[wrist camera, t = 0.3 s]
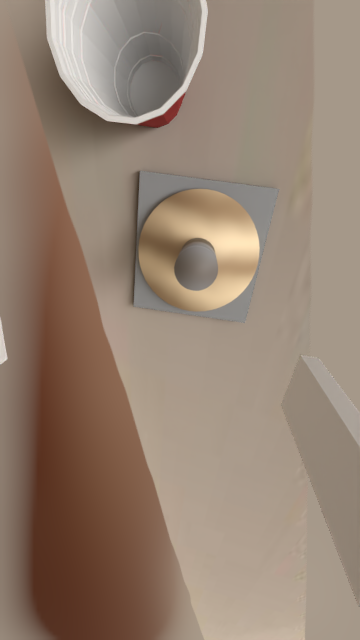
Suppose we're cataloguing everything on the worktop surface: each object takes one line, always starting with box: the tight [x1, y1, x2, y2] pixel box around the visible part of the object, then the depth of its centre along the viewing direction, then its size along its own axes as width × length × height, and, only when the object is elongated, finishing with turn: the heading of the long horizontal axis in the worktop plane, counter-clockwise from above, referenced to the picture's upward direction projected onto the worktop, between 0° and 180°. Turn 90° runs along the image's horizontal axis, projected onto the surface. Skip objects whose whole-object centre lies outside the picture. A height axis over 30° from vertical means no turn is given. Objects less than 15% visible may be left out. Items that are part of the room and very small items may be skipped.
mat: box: [134, 171, 279, 323], centre depth 34 cm, size 17×16×1 cm
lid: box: [138, 189, 260, 312], centre depth 29 cm, size 15×15×8 cm
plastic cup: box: [45, 0, 208, 128], centre depth 22 cm, size 11×11×12 cm
